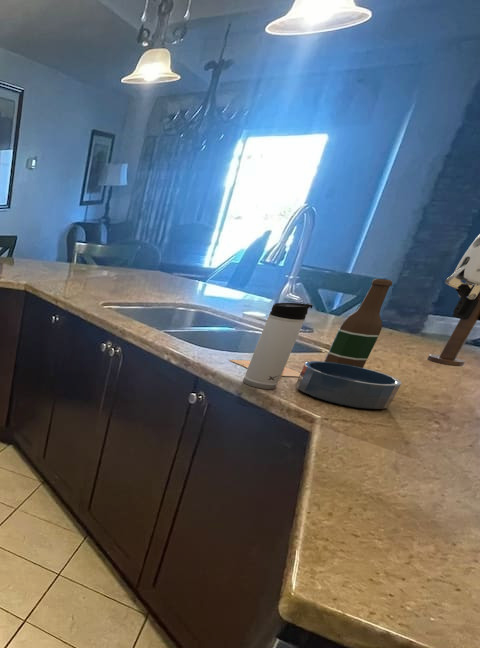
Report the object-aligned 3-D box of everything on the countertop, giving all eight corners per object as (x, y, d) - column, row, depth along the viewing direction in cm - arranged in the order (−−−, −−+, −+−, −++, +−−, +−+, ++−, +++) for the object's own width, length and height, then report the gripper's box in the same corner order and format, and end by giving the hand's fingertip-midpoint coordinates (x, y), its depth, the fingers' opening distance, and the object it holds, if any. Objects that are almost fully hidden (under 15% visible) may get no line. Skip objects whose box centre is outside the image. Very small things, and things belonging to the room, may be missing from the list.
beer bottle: (366, 378, 124) (414, 283, 115) (328, 373, 127) (372, 280, 117) (350, 369, 131) (394, 278, 121) (314, 365, 133) (354, 275, 124)
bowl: (401, 405, 108) (415, 380, 105) (366, 415, 102) (379, 389, 100) (316, 381, 121) (326, 358, 118) (280, 388, 115) (290, 364, 113)
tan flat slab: (263, 375, 123) (270, 359, 122) (228, 360, 135) (233, 345, 133) (310, 377, 124) (317, 361, 122) (271, 361, 135) (277, 346, 133)
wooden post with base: (467, 365, 102) (509, 293, 96) (456, 367, 100) (499, 294, 94) (433, 357, 106) (471, 288, 100) (422, 360, 104) (461, 289, 98)
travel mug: (276, 392, 113) (313, 306, 105) (241, 384, 117) (274, 301, 109) (278, 385, 117) (313, 302, 109) (243, 378, 121) (275, 297, 113)
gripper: (481, 221, 91) (429, 318, 98) (604, 226, 86) (540, 328, 93) (452, 219, 97) (406, 310, 105) (565, 224, 92) (508, 320, 100)
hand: (469, 318), depth 99 cm, fingers closed on wooden post with base
